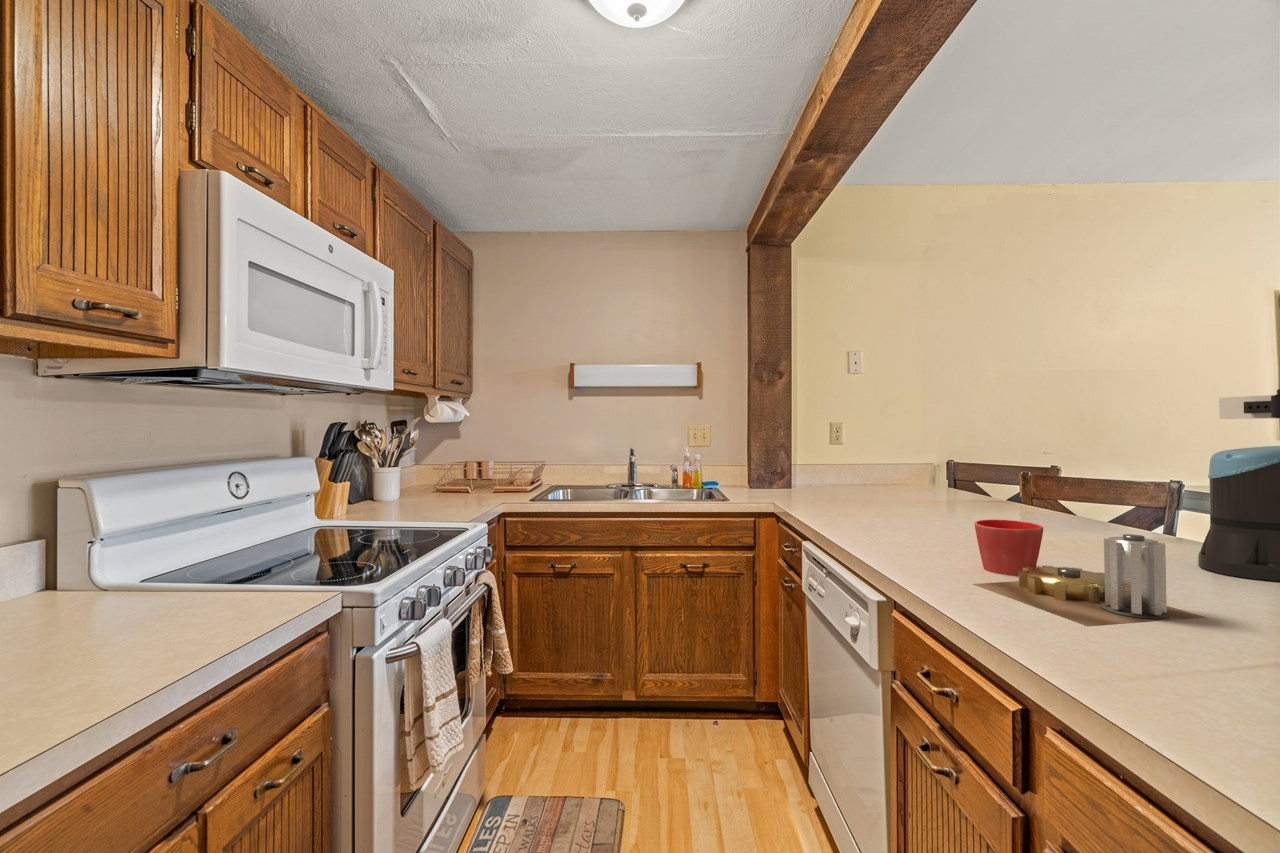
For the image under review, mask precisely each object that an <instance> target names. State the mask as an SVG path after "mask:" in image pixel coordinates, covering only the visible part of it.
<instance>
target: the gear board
mask: <svg viewBox="0 0 1280 853" xmlns="http://www.w3.org/2000/svg"><path fill="white" fill-rule="evenodd" d="M972 585H973V586H976V587H979V588H982V589H984V590H987V591H989V592H992V593H996V594H997V595H1001V596H1003V597H1006V598H1008V599H1011V600H1014V601H1017V602H1019V603H1022V604H1025V605H1027V606H1031V607H1034V608H1036V609H1039V610H1040V611H1041V610H1042V611H1044V612H1047V613H1050V614H1052V615H1055V616H1058V617H1059V618H1063V619H1066V620H1069V621H1071V622H1074V623H1076V624H1080V625H1083V626H1084V627H1095V626H1096V627H1097V626H1098V627H1099V626H1108V625H1110V626H1111V625H1124V624H1135V623H1136V624H1137V623H1150V622H1161V621H1162V622H1163V621H1164V622H1165V621H1176V620H1190V619H1203V618H1204V619H1205V618H1206V616H1203V615H1200V614H1196V613H1193V612H1190V611H1185V610H1182V609H1181V608H1180V609H1178V608H1175V607H1173V606H1169V605H1167V613H1164V612H1162V615H1143V614H1134V613H1128V612H1124V611H1120V610H1115V609H1112V608H1111V606H1110V605H1105V601H1099V604H1096V603H1088V602H1086V601H1077V600H1068V599H1067V600H1066V601H1063V600H1056V599H1055V597H1051V596H1046V595H1042V594H1037V595H1035V594H1032V593H1029V592H1028V588H1021V587H1019V580H1017V581H1016V580H1015V581H1014V580H1013V581H999V582H998V581H997V582H983V583H972Z"/></svg>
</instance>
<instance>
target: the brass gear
mask: <svg viewBox="0 0 1280 853" xmlns="http://www.w3.org/2000/svg"><path fill="white" fill-rule="evenodd" d="M1017 577H1018V581H1019V587H1021V588H1028V592H1029V593H1032V594H1035V595H1037V594H1042V595H1046V596H1051V597H1055V599H1056V600H1063V601H1066V600H1067V599H1068V600H1077V601H1086V602H1088V603H1096V604H1099V601H1105V573H1104V572H1093V571H1088V570H1083V568H1079V567H1065V566H1064V567H1063V566H1062V567H1061V566H1060V567H1057V566H1056V567H1055V566H1053V565H1042V567H1040V566H1039V567H1036V568H1033V567H1023V571H1018V576H1017Z"/></svg>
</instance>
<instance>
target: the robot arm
mask: <svg viewBox="0 0 1280 853" xmlns="http://www.w3.org/2000/svg"><path fill="white" fill-rule="evenodd" d="M1278 308H1279V310H1280V294H1279V296H1278ZM1218 399H1219V400H1218V404H1219V406H1218V408H1219V410H1218V411H1219V413H1218V414H1219V415H1218V416H1219V420H1235V419H1236V420H1237V419H1238V420H1241V419H1242V420H1243V419H1246V420H1248V419H1249V420H1250V419H1252V420H1253V419H1280V388H1279V389H1276V394H1275V395H1274V394H1272V395H1271V394H1269V395H1246V396H1245V395H1244V396H1229V397H1227V396H1225V397H1223V396H1222V397H1219V398H1218ZM1207 478H1208V479H1209V522H1210V523H1209V524H1210V525H1209V529H1208V531H1207V534H1206V536H1205V538H1204V541H1203V543H1202V545H1201V548H1200V551H1199V552H1198V556H1197V559H1198V563H1197V565H1198V566H1199V568H1201V569H1203V570H1206V571H1210V572H1213V573H1217V574H1221V575H1226V576H1231V577H1239V578H1246V579H1253V580H1263V581H1272V582H1280V445H1273V446H1270V445H1269V446H1267V445H1266V446H1253V447H1242V448H1234V449H1226V450H1225V449H1224V450H1220V451H1217V452H1215V453H1214V454H1212V456H1211V457H1210V460H1209V469H1208V474H1207Z"/></svg>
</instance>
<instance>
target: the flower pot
mask: <svg viewBox="0 0 1280 853" xmlns="http://www.w3.org/2000/svg"><path fill="white" fill-rule="evenodd" d="M974 530H975V535H976V540H977V541H976V542H977V545H978V550H979V556H980V559H981V563H982V566H983V570H985V571H987V572H989V573H994V574H997V575H1003V576H1013V577H1015V576H1016V577H1018V571H1023V567H1033V568H1037V563H1038V559H1039V556H1040V550H1041V544H1042V540H1043V534H1044V526H1043V525H1041V524H1038V523H1033V522H1029V521H1028V522H1027V521H1021V520H1013V519H979V520H976V521H975V522H974Z"/></svg>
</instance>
